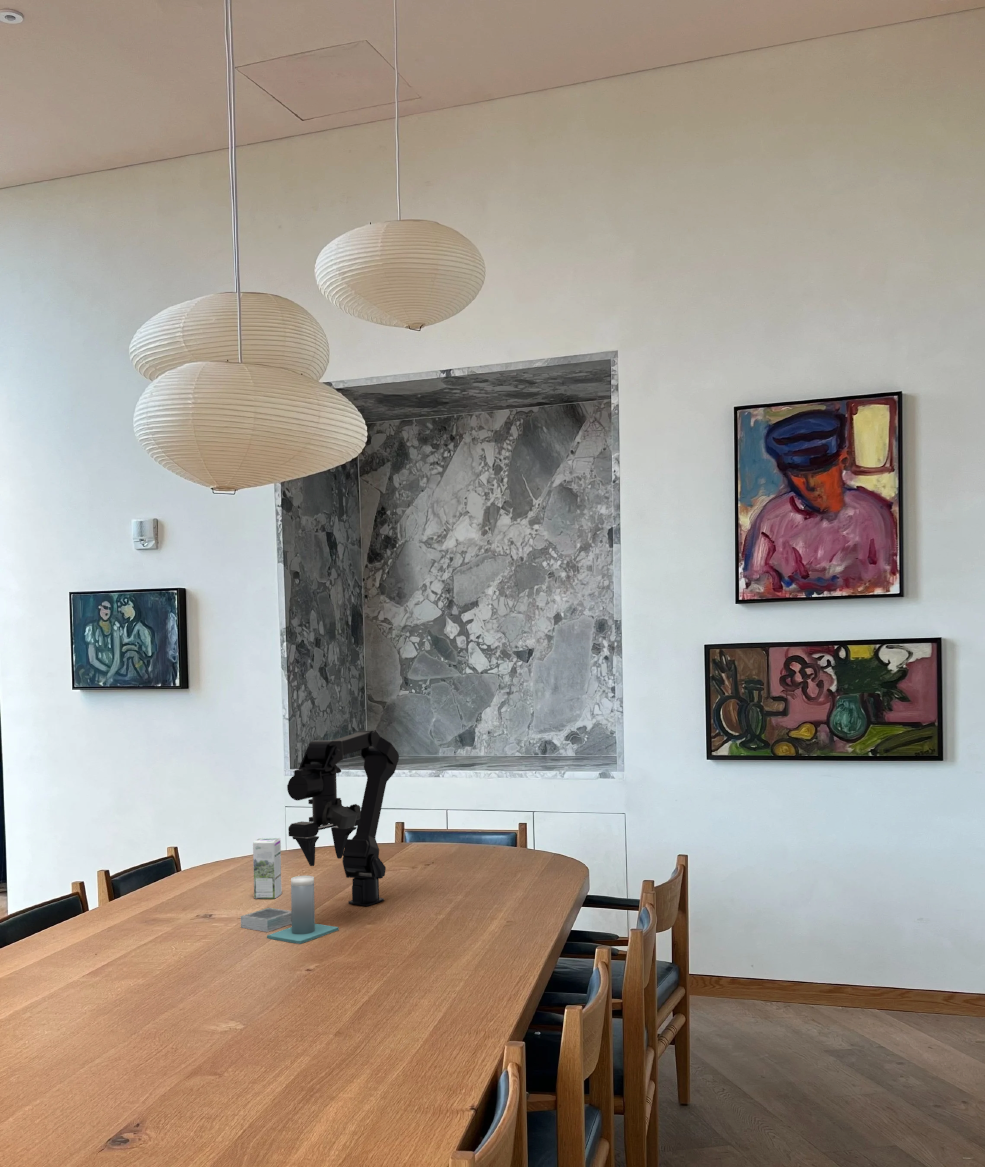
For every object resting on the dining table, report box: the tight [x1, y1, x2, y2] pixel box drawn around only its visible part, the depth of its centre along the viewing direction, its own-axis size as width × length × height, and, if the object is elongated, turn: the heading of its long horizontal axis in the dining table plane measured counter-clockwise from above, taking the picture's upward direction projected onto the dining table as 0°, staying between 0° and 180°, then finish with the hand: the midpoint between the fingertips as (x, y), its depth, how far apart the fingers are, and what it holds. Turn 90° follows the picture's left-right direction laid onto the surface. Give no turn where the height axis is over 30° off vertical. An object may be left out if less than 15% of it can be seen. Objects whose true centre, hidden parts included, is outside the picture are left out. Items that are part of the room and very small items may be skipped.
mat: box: [266, 923, 340, 945], centre depth 218 cm, size 12×10×1 cm
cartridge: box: [290, 875, 316, 934], centre depth 219 cm, size 5×5×12 cm
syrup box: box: [252, 837, 283, 900], centre depth 256 cm, size 6×6×14 cm
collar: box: [240, 907, 292, 933], centre depth 227 cm, size 9×9×2 cm
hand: (325, 862), depth 232 cm, fingers open, 9 cm apart
